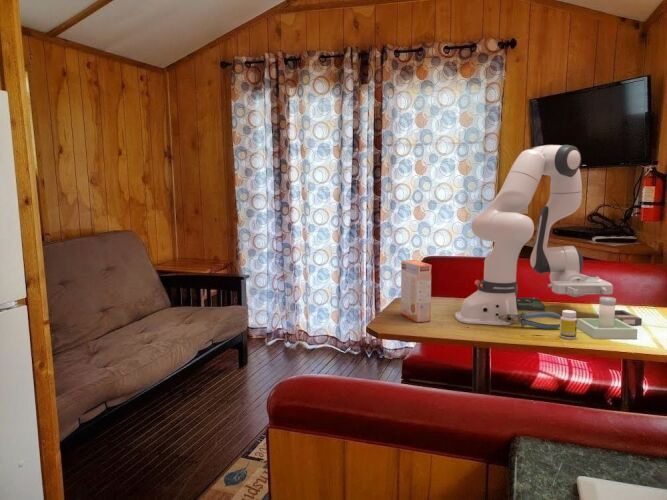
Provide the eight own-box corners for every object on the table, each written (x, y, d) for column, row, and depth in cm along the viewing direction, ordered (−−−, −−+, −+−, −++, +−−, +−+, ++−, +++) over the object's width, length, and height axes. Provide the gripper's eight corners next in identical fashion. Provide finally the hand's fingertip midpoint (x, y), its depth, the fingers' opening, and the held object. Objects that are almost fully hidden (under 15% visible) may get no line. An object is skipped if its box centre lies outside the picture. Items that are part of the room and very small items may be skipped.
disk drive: (510, 303, 209) (518, 311, 195) (510, 296, 209) (518, 304, 194) (536, 304, 208) (546, 312, 193) (536, 297, 208) (546, 305, 193)
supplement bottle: (578, 339, 157) (579, 313, 156) (561, 338, 157) (563, 312, 156) (573, 335, 161) (575, 309, 160) (558, 334, 162) (559, 309, 161)
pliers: (498, 327, 171) (499, 310, 170) (497, 326, 173) (498, 309, 172) (560, 330, 167) (561, 313, 166) (559, 328, 169) (560, 311, 169)
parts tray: (594, 338, 157) (594, 329, 157) (576, 327, 170) (577, 318, 170) (636, 338, 157) (637, 329, 156) (616, 327, 169) (616, 318, 169)
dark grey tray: (616, 325, 172) (616, 317, 172) (599, 316, 184) (600, 309, 184) (641, 325, 171) (641, 317, 171) (623, 316, 183) (623, 309, 183)
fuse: (602, 333, 161) (603, 299, 160) (595, 329, 166) (597, 296, 164) (616, 333, 161) (618, 299, 160) (609, 329, 165) (611, 296, 164)
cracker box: (431, 321, 179) (432, 264, 177) (416, 323, 177) (416, 265, 175) (414, 312, 192) (415, 259, 190) (400, 314, 191) (400, 259, 188)
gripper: (546, 276, 188) (560, 283, 174) (602, 276, 187) (621, 283, 173) (545, 292, 189) (559, 300, 175) (601, 293, 187) (619, 301, 174)
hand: (590, 292), depth 174 cm, fingers open, 8 cm apart
